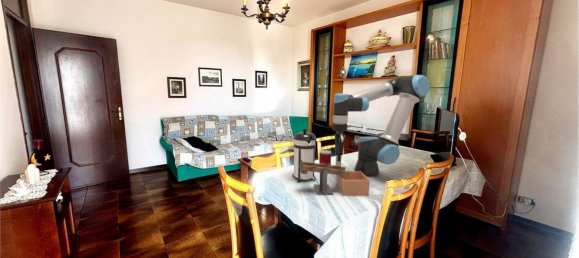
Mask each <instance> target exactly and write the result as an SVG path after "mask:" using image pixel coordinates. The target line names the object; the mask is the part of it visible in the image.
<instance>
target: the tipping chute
mask: <svg viewBox="0 0 579 258" xmlns="http://www.w3.org/2000/svg"><path fill="white" fill-rule="evenodd" d="M300 168H301V169H300V171H301V174H307V173H308V171H311V172H314V173H319V174H320V173H323V170H328V175H336V176H337V175H341V176H348V175H349V171H350V170H346V167H345V166H341V167H340V166H335V165H333V164H331V165H325V164H319V163H316V162H315V163H310V162H303V161H302V159H301V162H300Z"/></svg>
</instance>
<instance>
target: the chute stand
mask: <svg viewBox="0 0 579 258" xmlns="http://www.w3.org/2000/svg"><path fill="white" fill-rule="evenodd" d="M328 175H329V174H328V170H323V173H319V184H313V188H314V192H315V194H316V195H317V196H333V195H334V192H333V190H332V188H331V187H330V185H329V184H328Z"/></svg>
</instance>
